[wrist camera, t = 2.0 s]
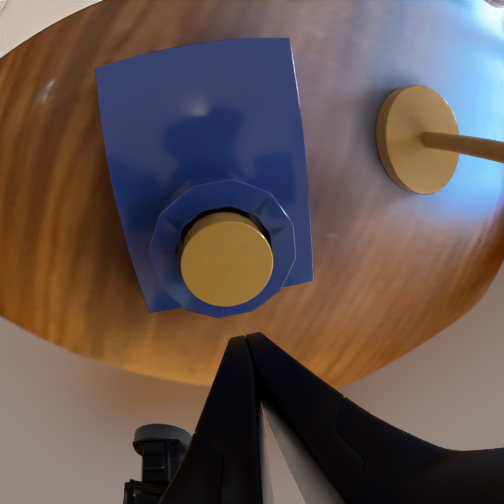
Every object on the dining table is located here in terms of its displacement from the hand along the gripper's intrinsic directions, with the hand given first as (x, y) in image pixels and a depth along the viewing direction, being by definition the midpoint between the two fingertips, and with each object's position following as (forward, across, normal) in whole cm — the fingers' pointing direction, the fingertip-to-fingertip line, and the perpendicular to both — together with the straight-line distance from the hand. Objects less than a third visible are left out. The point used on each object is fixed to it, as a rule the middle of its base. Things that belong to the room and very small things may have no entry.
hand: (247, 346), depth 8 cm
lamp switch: (+7, 0, 0) cm, 7 cm away
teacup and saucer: (+10, +15, -26) cm, 31 cm away
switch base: (+10, 0, -4) cm, 11 cm away
